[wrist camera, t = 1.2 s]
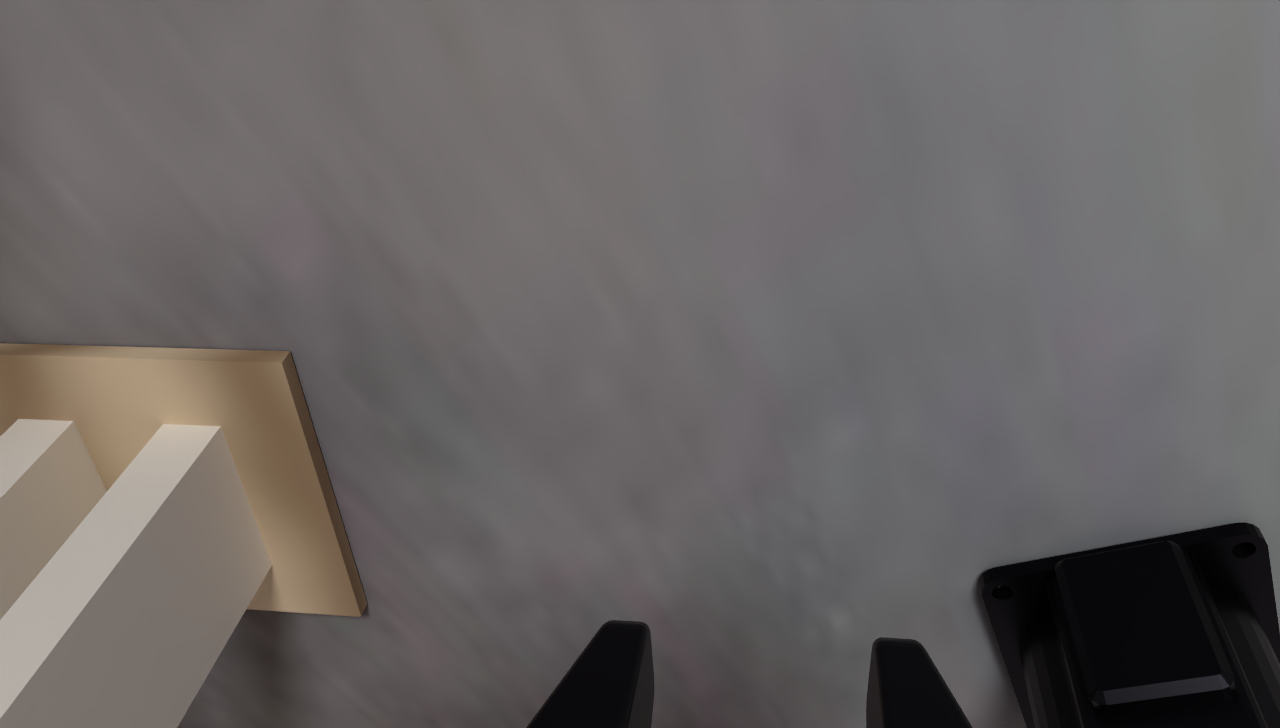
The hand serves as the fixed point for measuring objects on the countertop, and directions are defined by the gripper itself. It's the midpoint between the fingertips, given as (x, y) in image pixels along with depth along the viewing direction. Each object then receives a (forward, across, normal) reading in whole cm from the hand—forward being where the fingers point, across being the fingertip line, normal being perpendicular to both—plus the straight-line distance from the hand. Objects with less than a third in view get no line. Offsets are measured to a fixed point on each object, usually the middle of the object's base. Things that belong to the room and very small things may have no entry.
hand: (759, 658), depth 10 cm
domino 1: (+12, +15, +10) cm, 22 cm away
